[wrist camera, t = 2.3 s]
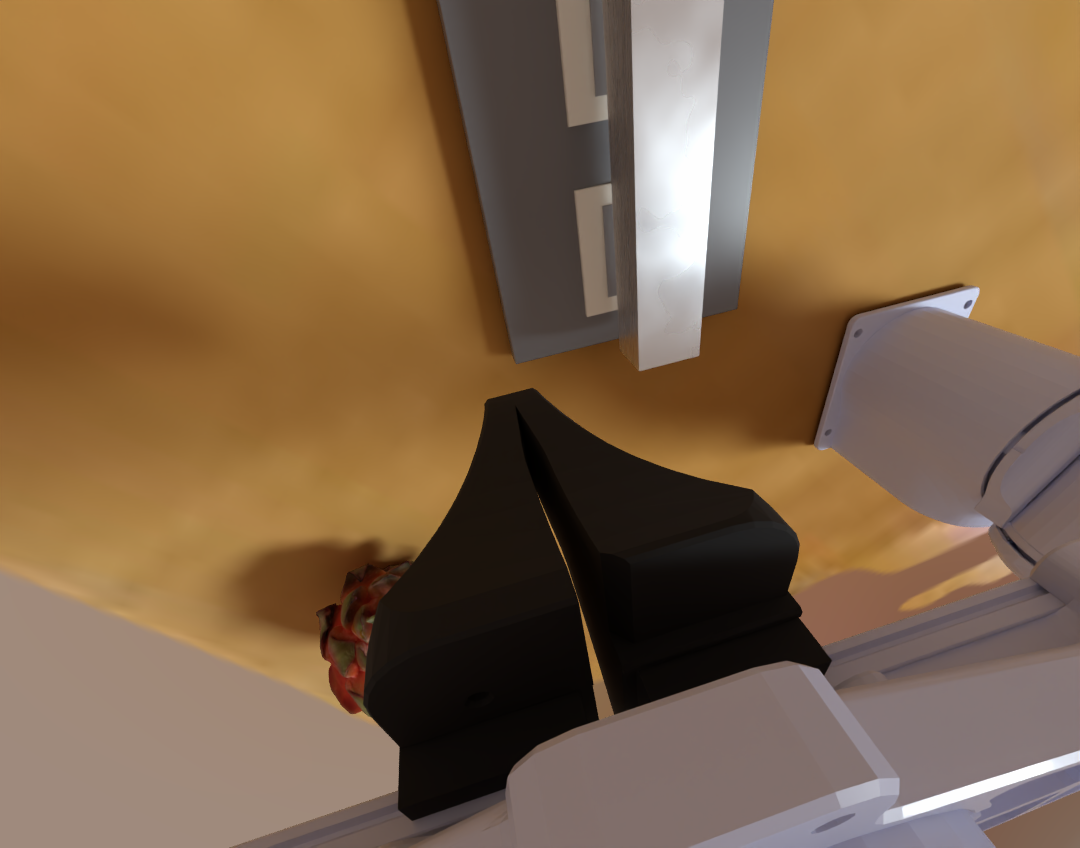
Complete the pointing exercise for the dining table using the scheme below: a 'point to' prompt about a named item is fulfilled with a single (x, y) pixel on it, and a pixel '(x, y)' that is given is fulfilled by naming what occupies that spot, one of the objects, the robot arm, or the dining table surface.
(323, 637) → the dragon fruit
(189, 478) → the dining table surface
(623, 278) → the swing bar
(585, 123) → the label plate
